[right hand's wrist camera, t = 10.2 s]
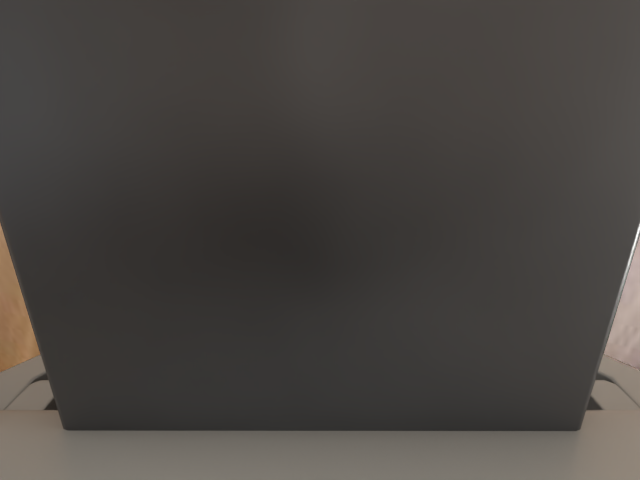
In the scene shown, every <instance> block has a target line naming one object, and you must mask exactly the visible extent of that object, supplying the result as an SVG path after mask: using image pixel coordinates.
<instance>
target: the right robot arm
mask: <svg viewBox="0 0 640 480" xmlns="http://www.w3.org/2000/svg"><path fill="white" fill-rule="evenodd" d="M0 480H640V370H638V369H636V368H634V367H632V366H629V365H627V364H625V363H622V362H620V361H618V360H616V359H613V358H611V357H609V356H606V355H604V354H603V357H602V360H601V363H600V367H599V370H598V373H597V376H596V380H595V383H594V386H593V389H592V393H591V396H590V399H589V402H588V406H587V409H586V412H585V416H584V419H583V422H582V425H581V429H580V430H578V431H68V430H65V429H63V426H62V423H61V419H60V416H59V413H58V410H57V406H56V403H55V400H54V396H53V393H52V390H51V387H50V383H49V380H48V377H47V373H46V370H45V367H44V364H43V360H42V357H41V355H39V356H36V357H34V358H32V359H29V360H27V361H25V362H23V363H20V364H18V365H16V366H14V367H11V368H9V369H7V370H5V371H2V372H0Z"/></svg>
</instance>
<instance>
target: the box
mask: <svg viewBox="0 0 640 480" xmlns="http://www.w3.org/2000/svg"><path fill="white" fill-rule="evenodd" d="M0 223H1V226H2V229H3V233H4V236H5V239H6V242H7V246H8V249H9V252H10V256H11V259H12V262H13V265H14V269H15V272H16V275H17V278H18V282H19V285H20V288H21V292H22V295H23V298H24V301H25V305H26V308H27V311H28V315H29V318H30V321H31V324H32V328H33V331H34V334H35V337H36V341H37V344H38V347H39V351H40V354H41V357H42V360H43V364H44V367H45V370H46V373H47V377H48V380H49V383H50V387H51V390H52V393H53V396H54V400H55V403H56V406H57V410H58V413H59V416H60V419H61V423H62V426H63V429H65V430H68V431H578V430H580V429H581V425H582V422H583V419H584V416H585V412H586V409H587V406H588V402H589V399H590V396H591V393H592V389H593V386H594V383H595V380H596V376H597V373H598V370H599V367H600V363H601V360H602V357H603V353H604V350H605V347H606V344H607V340H608V337H609V334H610V331H611V327H612V324H613V321H614V318H615V314H616V311H617V308H618V304H619V301H620V298H621V295H622V291H623V288H624V285H625V282H626V278H627V275H628V272H629V269H630V265H631V262H632V259H633V256H634V252H635V249H636V246H637V242H638V239H639V236H640V0H0Z"/></svg>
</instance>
